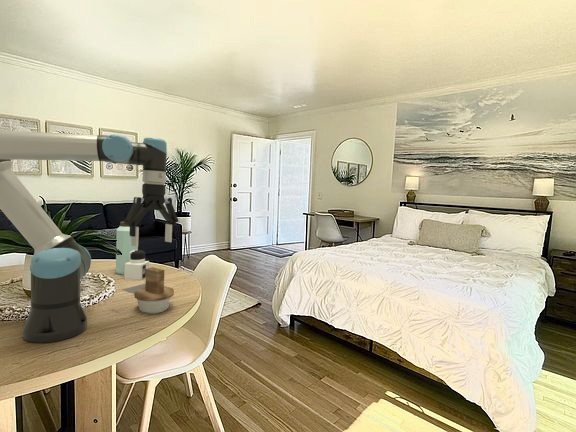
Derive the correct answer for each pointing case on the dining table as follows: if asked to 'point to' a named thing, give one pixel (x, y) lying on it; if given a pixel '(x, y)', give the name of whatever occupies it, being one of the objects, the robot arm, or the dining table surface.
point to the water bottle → (123, 247)
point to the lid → (154, 287)
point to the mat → (135, 288)
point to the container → (136, 266)
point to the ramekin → (153, 306)
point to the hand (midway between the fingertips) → (152, 243)
